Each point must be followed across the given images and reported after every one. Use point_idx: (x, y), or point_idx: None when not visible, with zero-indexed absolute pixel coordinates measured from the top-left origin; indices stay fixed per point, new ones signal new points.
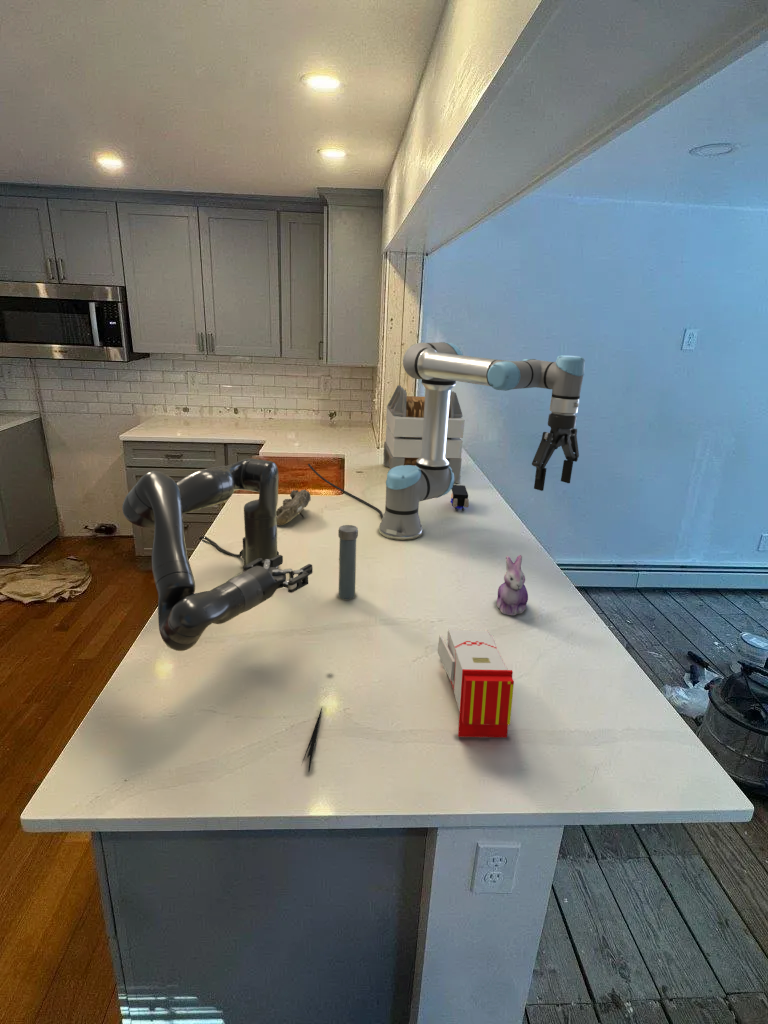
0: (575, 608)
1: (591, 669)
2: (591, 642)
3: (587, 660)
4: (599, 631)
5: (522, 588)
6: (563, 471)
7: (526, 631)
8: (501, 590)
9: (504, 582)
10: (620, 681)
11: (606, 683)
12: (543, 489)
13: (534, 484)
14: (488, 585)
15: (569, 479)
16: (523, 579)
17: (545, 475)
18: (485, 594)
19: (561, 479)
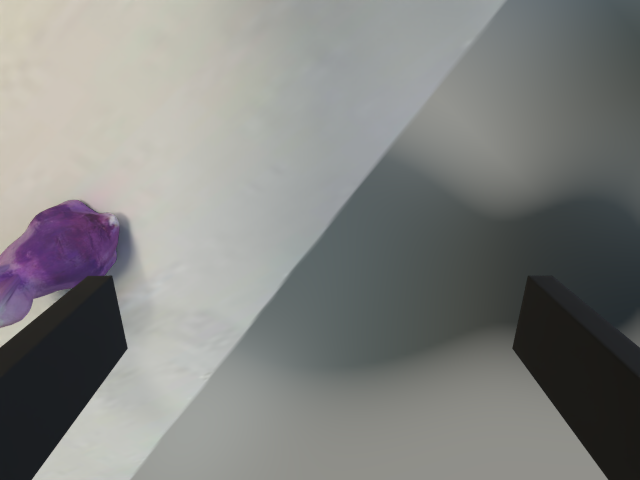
0: (225, 327)
1: (68, 442)
2: (138, 407)
3: (83, 428)
4: (187, 397)
5: (51, 291)
6: (587, 350)
7: None
8: (4, 251)
9: (39, 230)
10: (87, 476)
11: (61, 468)
12: (121, 355)
13: (62, 297)
14: (110, 120)
15: (536, 371)
16: (2, 326)
17: (37, 469)
18: (64, 153)
19: (534, 291)
